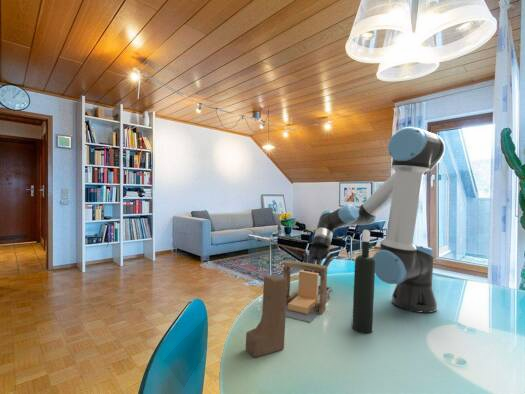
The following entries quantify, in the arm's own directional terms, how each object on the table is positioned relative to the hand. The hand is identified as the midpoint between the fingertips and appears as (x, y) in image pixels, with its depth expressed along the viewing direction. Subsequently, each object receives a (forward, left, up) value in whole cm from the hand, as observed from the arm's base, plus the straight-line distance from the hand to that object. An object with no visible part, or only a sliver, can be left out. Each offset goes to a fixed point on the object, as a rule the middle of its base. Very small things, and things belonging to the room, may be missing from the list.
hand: (308, 289), depth 108 cm
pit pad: (+6, -14, -4) cm, 15 cm away
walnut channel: (-1, +1, -4) cm, 5 cm away
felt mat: (-6, +11, -4) cm, 13 cm away
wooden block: (-18, +35, -5) cm, 40 cm away
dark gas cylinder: (-25, +3, -5) cm, 26 cm away
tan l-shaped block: (-4, +6, -4) cm, 8 cm away
